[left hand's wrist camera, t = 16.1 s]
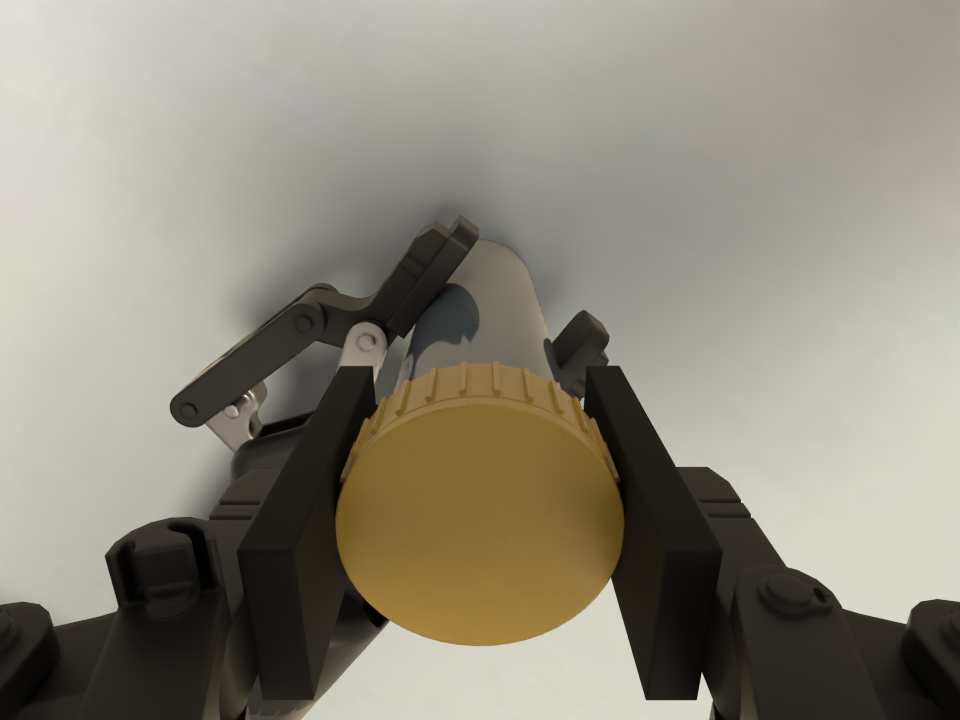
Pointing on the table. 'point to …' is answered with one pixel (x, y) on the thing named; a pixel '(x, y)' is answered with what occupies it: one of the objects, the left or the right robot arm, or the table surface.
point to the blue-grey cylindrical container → (483, 320)
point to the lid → (479, 506)
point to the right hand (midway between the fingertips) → (532, 277)
